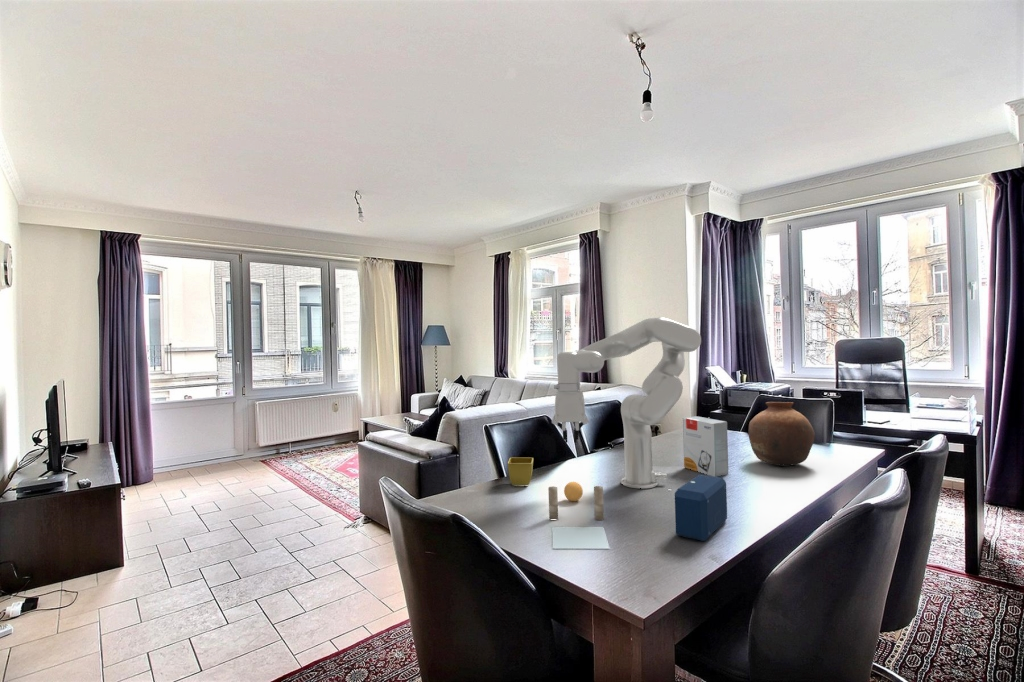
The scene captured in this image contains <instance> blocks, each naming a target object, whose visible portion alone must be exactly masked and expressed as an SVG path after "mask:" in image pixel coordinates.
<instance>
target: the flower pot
mask: <svg viewBox="0 0 1024 682" xmlns="http://www.w3.org/2000/svg"><path fill="white" fill-rule="evenodd" d="M533 466H534V457H509V459H508V461H507V469H508V476H509V479H510V482H511V485H512V486H513V485H528V486H529V485H530V483H531V479H532V476H533V468H534V467H533Z"/></svg>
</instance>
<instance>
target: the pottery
mask: <svg viewBox="0 0 1024 682" xmlns="http://www.w3.org/2000/svg"><path fill="white" fill-rule="evenodd" d="M765 405H766V406H767V408H766V409H764V410H762V411H760V412H759V413H758V414H756V415H755V416H754V417H753V418H752V419H751V420H750V421H749V424H748V439H749V442H750V446H751V450H752V452H753V453H754V455H755V457H756V458H757V459H758V460H760V461H762V462H764V463H766V464H770V465H775V466H783V467H784V466H795V465H800V464H801V463H804V462H805V461H806V460H807V458H808V457H809V455H810V453H811V452H810V451H811V450H812V447H813V445H814V442H815V437H816V434H815V430H814V428H813V426H812V424H811V422H810V420H809V419H808V418H807V417H806V416H805V415H803V414H802V413H801V412H799V411H797V410H796V409H794V408H792V406H793V405H794V402H793V401H792V402H791V401H790V402H789V401H787V402H785V401H783V402H782V401H767V402H765Z"/></svg>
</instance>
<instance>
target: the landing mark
mask: <svg viewBox="0 0 1024 682" xmlns="http://www.w3.org/2000/svg"><path fill="white" fill-rule="evenodd" d="M551 532H552V533H551V534H552V550H611V549H610V544H609V542H608V537H607V535H606V531H605V528H604V526H562V527H561V526H552V531H551Z"/></svg>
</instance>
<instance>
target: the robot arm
mask: <svg viewBox="0 0 1024 682" xmlns="http://www.w3.org/2000/svg"><path fill="white" fill-rule="evenodd" d="M659 342H660V343H661V346H662V347H661V348H662V357H661V359H660V361H659V362H658V364H657V365H656V366H655V367H654V368H653V369H652V371H651V372H650V373H649V374H648V375H647V377H645V379H644V380H643V382H642V385H641V388H642V389H641V390H642V392H643V394H644V395H642V394H636V393H634V394H629V395H627V396H626V397H625V398H623V400H622V402H621V406H620V414H621V419H622V424H623V425H622V426H623V437H624V438H623V442H624V443H623V444H624V446H623V447H624V470H625V471H624V473H625V474H624V477H622V478H621V480H620V484H623V485H622V486H624V487H627V488H631V489H640V488H641V489H652V488H655V487H656V486H658V483H659V482H658V480H667V478H668V475H667V473H662V472H655V471H654V469H653V445H652V444H653V441H652V440H653V439H652V437H653V436H652V429H651V426H655V425H658V424H659V423H660V422H661V421H662V420H663V419H664V418H665V417H666V416H667V415H668V414H669V412H670V411H671V410H672V409H673V407H675V405H676V403H677V402H678V401H679V400H680V399H681V396H682V394H683V382H682V381H681V378H680V376H681V375H682V373H683V371H684V369H685V364H686V363H685V353H690V352H691V353H693V352H695V351H696V350H698V349H699V347H700V346H701V344H702V336H701V334H700V332H699V331H697V329H695V328H694V327H692V326H689V325H685V324H683V323H680V322H677V321H674V320H672V319H669V318H665V317H660V316H659V317H652V318H651V317H650V318H645V319H644V320H643V319H642V320H640V321H639V322H637V323H635V324H633V325H631V326H629V327H628V328H625V329H623V330H621V331H619V332H616V333H614V334H612V335H610V336H607V337H605V338H603V339H601V340H597V341H595V342H592V343H591V344H588V345H587V346H585V347H583V348H581V349H578V350H577V351H563V352H559V353H558V354H557V358H556V360H557V361H556V365H557V384H554V385H553V389H554V390H557V391H556V393H555V399H554V415H553V418H552V420H551V424H553V425H555V426H557V427H559V429H560V430H561V431H562V440H564V442H565V444H567V443H568V430H567V426H566V424H567V423H574V430H573V442H574V443H576V444H577V443H578V442H577V441H579V431H580V429H581V428H582V427H583V426H585V425H587V424H589V423H590V420H589V418H588V416H587V414H586V407H585V404H586V403H585V399H584V398H585V397H584V392H583V391H581V373H598V372H599V371H601V370H602V369H603V367H604V365H605V361H607V360H610V359H616V358H621V357H622V358H623V357H625V356H626V357H627V356H628V355H630V354H632V353H635V352H636V351H638V350H640V349H642V348H644V347H645V346H648V345H649V344H652V343H659Z"/></svg>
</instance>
